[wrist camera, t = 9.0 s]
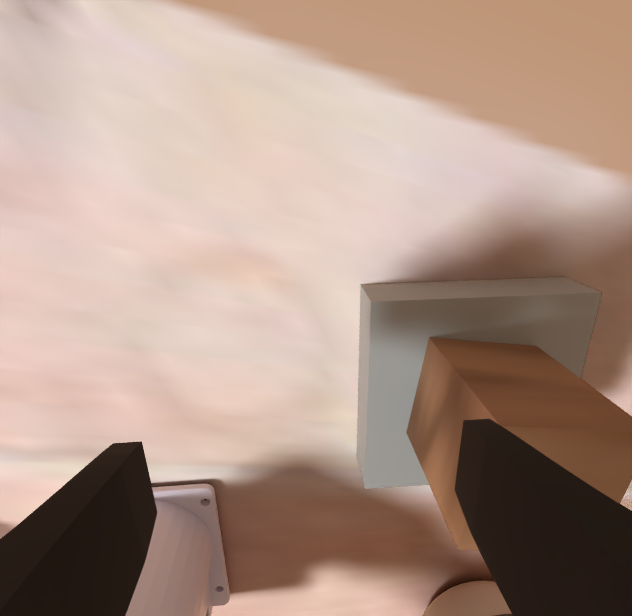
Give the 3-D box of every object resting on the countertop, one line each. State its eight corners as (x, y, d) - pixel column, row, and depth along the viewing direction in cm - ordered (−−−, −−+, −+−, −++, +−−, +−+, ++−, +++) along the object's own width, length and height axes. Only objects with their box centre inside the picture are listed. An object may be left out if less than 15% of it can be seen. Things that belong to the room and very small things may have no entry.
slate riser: (523, 437, 23) (556, 476, 20) (355, 448, 23) (364, 488, 20) (557, 273, 20) (601, 292, 17) (358, 280, 19) (370, 301, 16)
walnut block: (505, 437, 19) (595, 552, 14) (406, 432, 19) (458, 549, 13) (536, 345, 18) (655, 433, 12) (429, 337, 17) (499, 425, 11)
